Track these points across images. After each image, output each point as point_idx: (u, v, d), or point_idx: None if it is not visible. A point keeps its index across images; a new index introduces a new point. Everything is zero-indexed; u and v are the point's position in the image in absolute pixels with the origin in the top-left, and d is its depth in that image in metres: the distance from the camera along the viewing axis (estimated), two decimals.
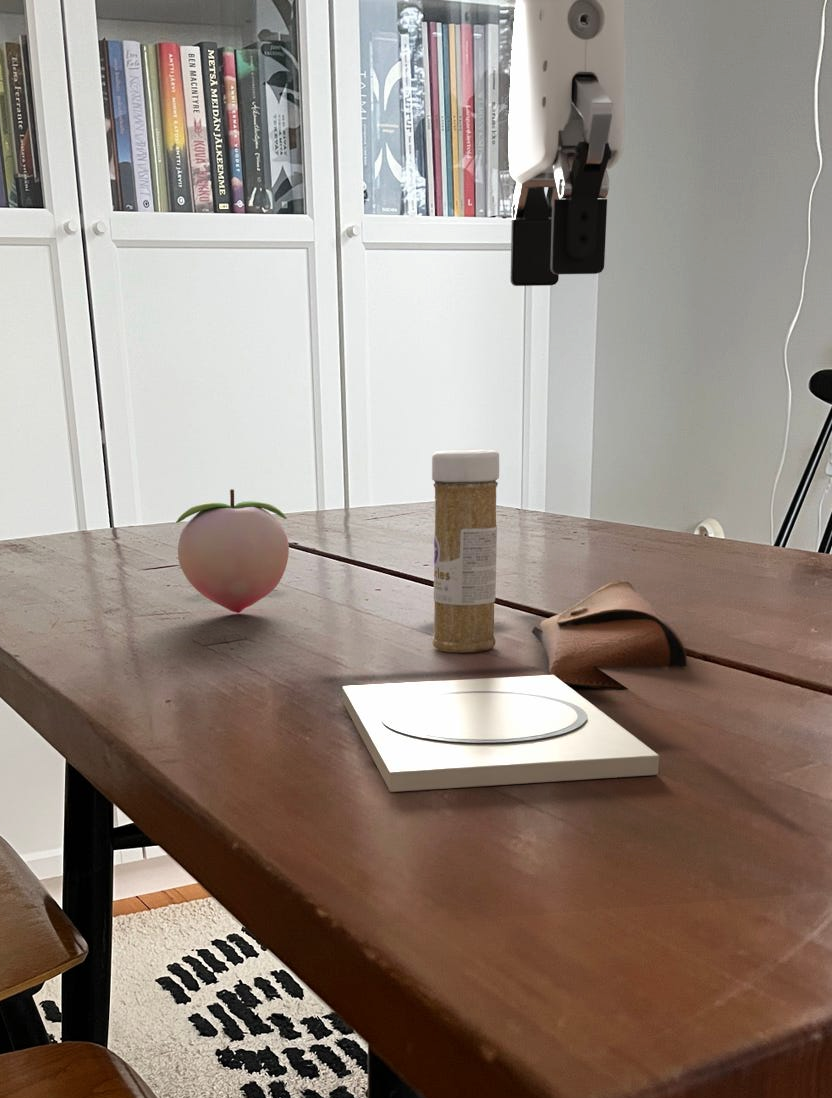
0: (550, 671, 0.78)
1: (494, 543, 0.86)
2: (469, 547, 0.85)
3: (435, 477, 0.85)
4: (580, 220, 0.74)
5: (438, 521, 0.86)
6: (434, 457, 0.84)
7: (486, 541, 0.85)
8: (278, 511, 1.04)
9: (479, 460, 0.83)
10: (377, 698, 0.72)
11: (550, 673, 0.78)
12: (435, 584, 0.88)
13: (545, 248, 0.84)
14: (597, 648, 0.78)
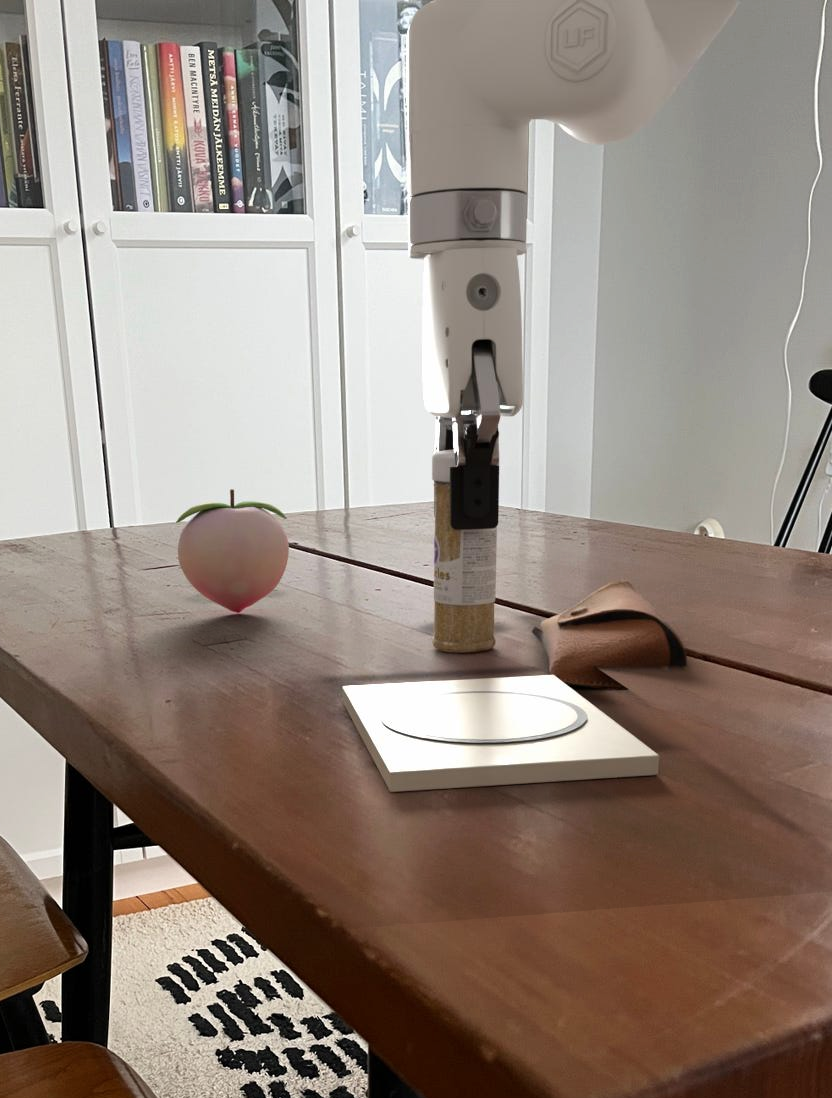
0: (550, 671, 0.78)
1: (494, 543, 0.86)
2: (469, 547, 0.85)
3: (435, 477, 0.85)
4: (475, 486, 0.82)
5: (438, 522, 0.86)
6: (434, 457, 0.84)
7: (486, 541, 0.85)
8: (278, 511, 1.04)
9: None
10: (377, 698, 0.72)
11: (550, 673, 0.78)
12: (435, 584, 0.88)
13: None
14: (597, 648, 0.78)
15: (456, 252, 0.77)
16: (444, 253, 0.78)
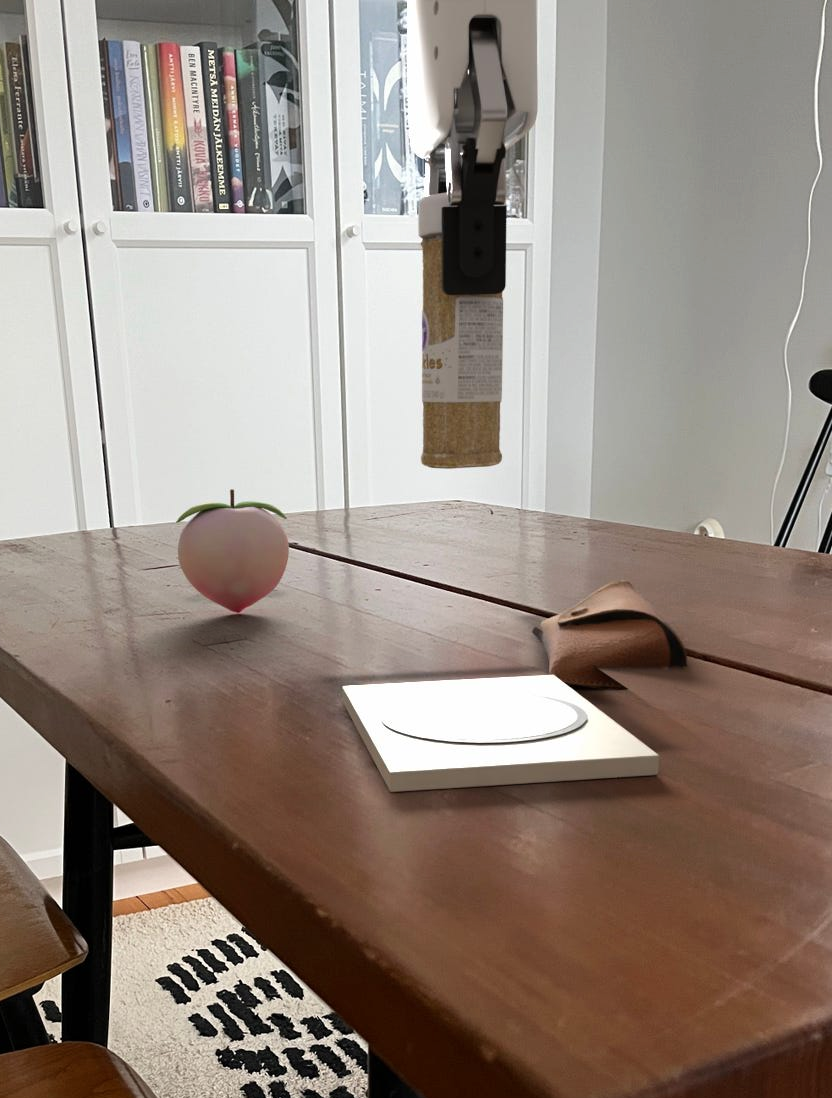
0: (550, 671, 0.78)
1: (500, 320, 0.66)
2: (466, 322, 0.65)
3: (422, 229, 0.65)
4: (474, 231, 0.62)
5: (427, 291, 0.66)
6: (421, 202, 0.65)
7: (489, 316, 0.66)
8: (278, 511, 1.04)
9: None
10: (377, 698, 0.72)
11: (550, 673, 0.78)
12: (423, 378, 0.68)
13: None
14: (597, 648, 0.78)
15: None
16: None
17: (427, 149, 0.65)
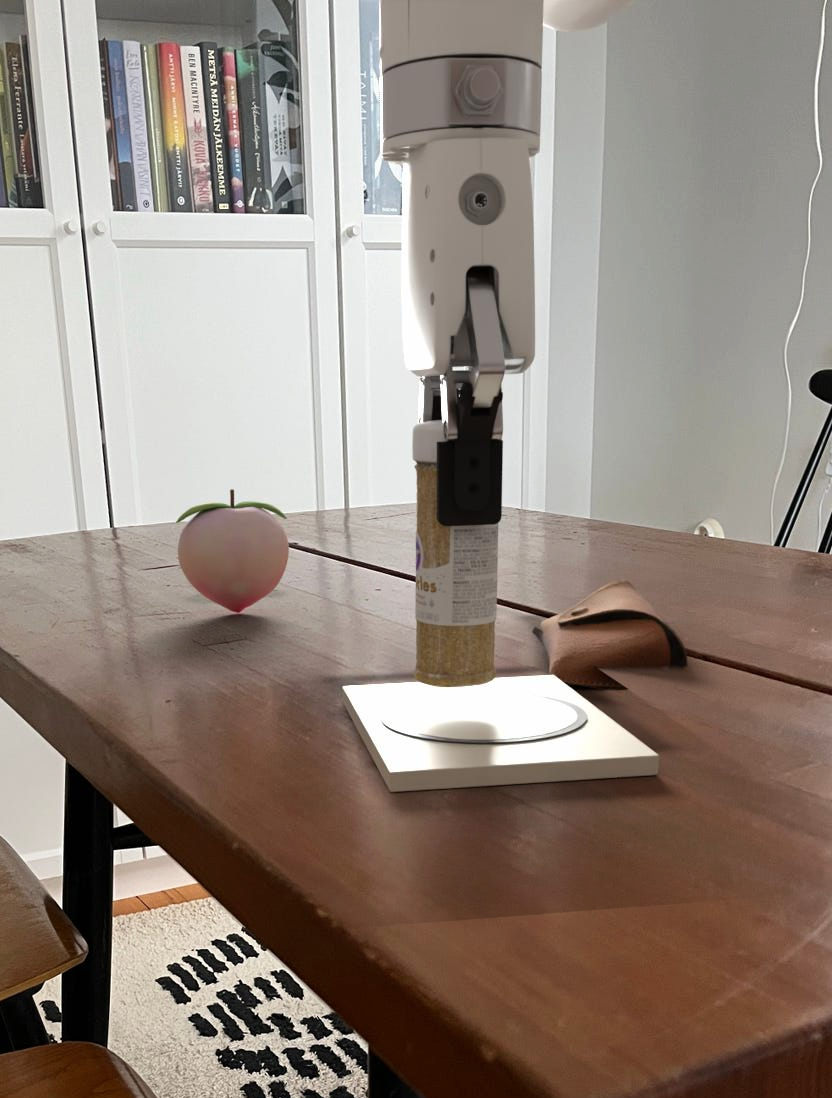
0: (550, 671, 0.78)
1: (495, 544, 0.65)
2: (461, 549, 0.64)
3: (417, 456, 0.64)
4: (470, 468, 0.61)
5: (421, 515, 0.65)
6: (415, 429, 0.64)
7: (484, 542, 0.64)
8: (278, 511, 1.04)
9: None
10: (377, 698, 0.72)
11: (550, 673, 0.78)
12: (417, 598, 0.67)
13: None
14: (598, 648, 0.78)
15: (445, 144, 0.56)
16: (428, 146, 0.57)
17: (422, 374, 0.64)
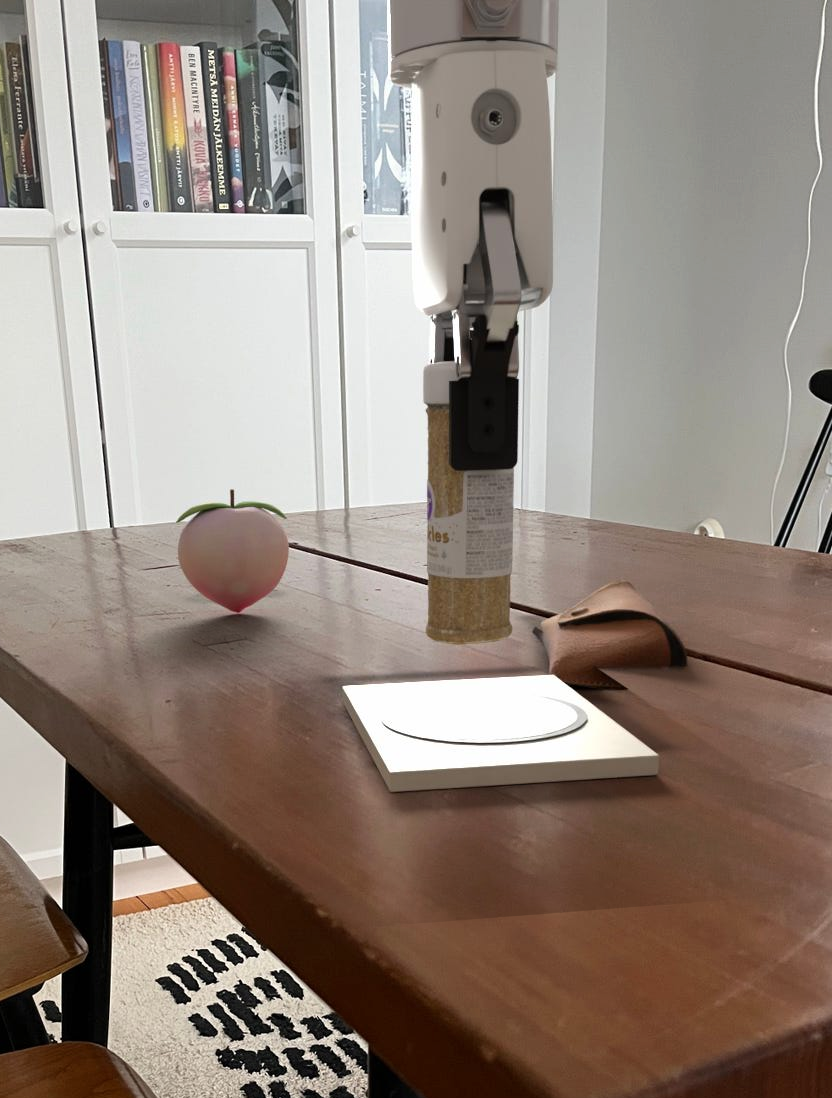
0: (551, 671, 0.78)
1: (510, 491, 0.62)
2: (475, 496, 0.61)
3: (428, 398, 0.61)
4: (484, 408, 0.58)
5: (433, 461, 0.61)
6: (426, 370, 0.60)
7: (499, 489, 0.61)
8: (278, 511, 1.04)
9: None
10: (377, 698, 0.72)
11: (551, 673, 0.78)
12: (429, 550, 0.63)
13: None
14: (598, 648, 0.78)
15: (456, 58, 0.53)
16: (439, 62, 0.53)
17: (433, 311, 0.61)
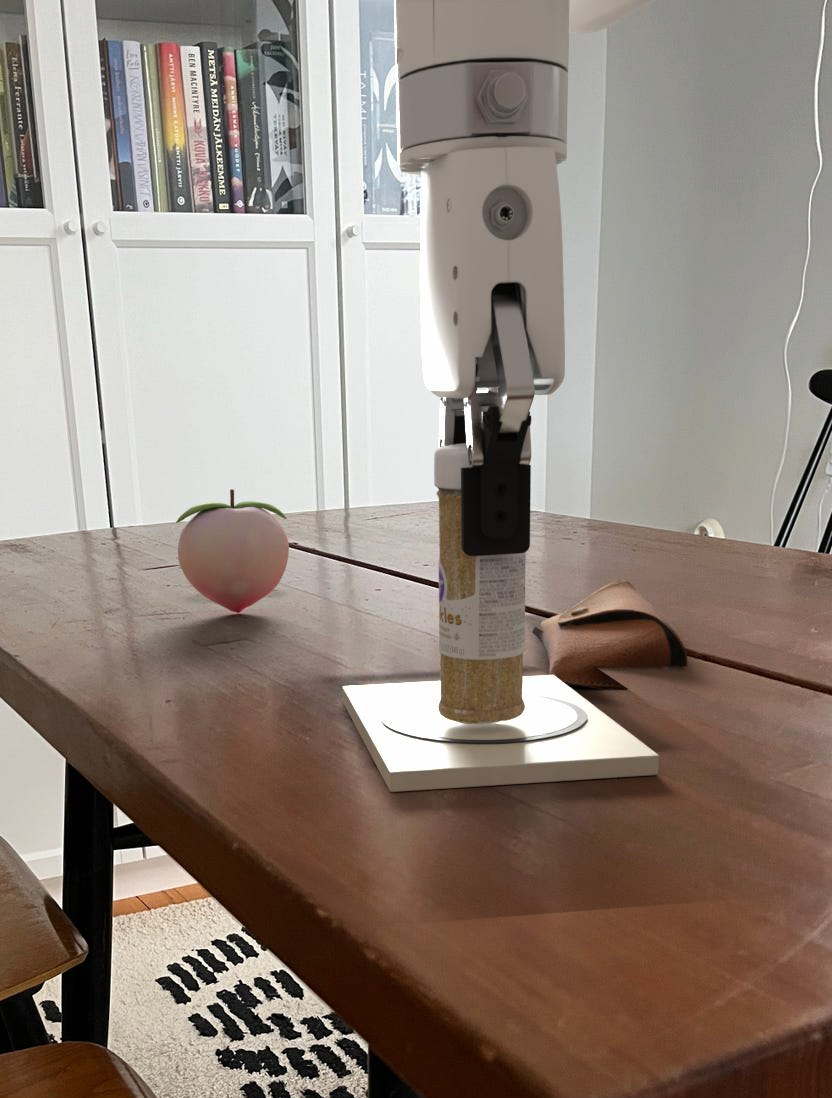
0: (551, 671, 0.78)
1: (522, 573, 0.62)
2: (488, 580, 0.61)
3: (439, 483, 0.60)
4: (497, 495, 0.58)
5: (445, 544, 0.61)
6: (437, 455, 0.60)
7: (511, 571, 0.61)
8: (278, 511, 1.04)
9: None
10: (377, 698, 0.72)
11: (551, 673, 0.78)
12: (441, 630, 0.63)
13: None
14: (598, 648, 0.78)
15: (467, 154, 0.53)
16: (450, 157, 0.53)
17: (443, 395, 0.61)
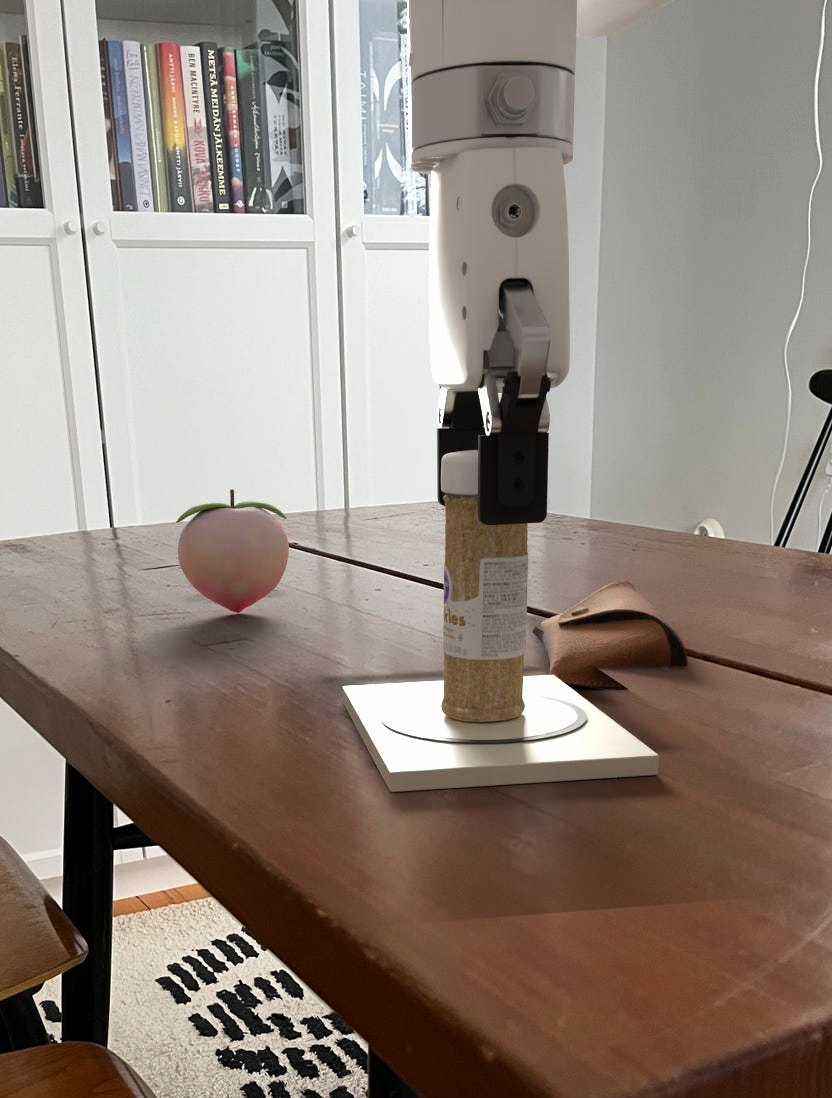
0: (551, 671, 0.78)
1: (525, 576, 0.64)
2: (491, 582, 0.63)
3: (446, 488, 0.63)
4: (514, 463, 0.57)
5: (450, 548, 0.64)
6: (444, 461, 0.62)
7: (514, 575, 0.63)
8: (278, 511, 1.04)
9: None
10: (377, 698, 0.72)
11: (551, 673, 0.78)
12: (445, 631, 0.65)
13: None
14: (598, 648, 0.78)
15: (477, 154, 0.54)
16: (460, 157, 0.55)
17: (451, 388, 0.63)
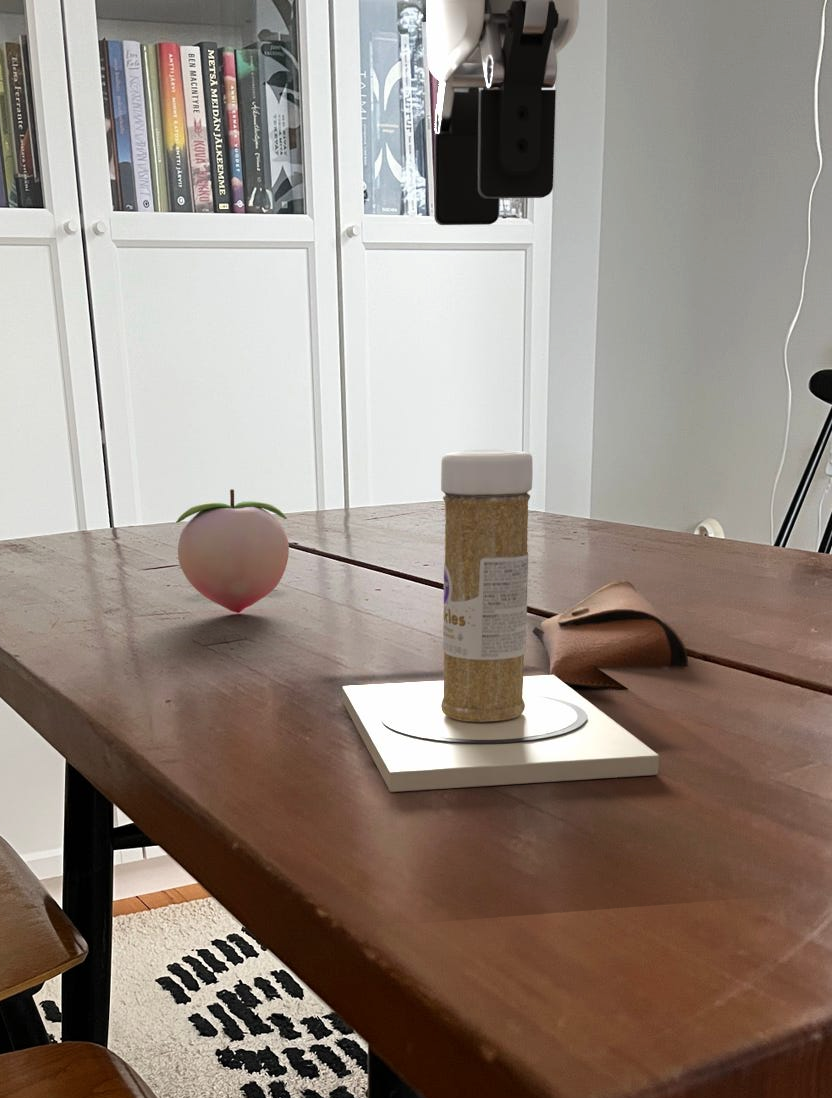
0: (551, 671, 0.78)
1: (525, 576, 0.64)
2: (491, 582, 0.63)
3: (446, 488, 0.63)
4: (518, 119, 0.53)
5: (450, 548, 0.64)
6: (444, 461, 0.62)
7: (514, 575, 0.63)
8: (278, 511, 1.04)
9: (506, 464, 0.61)
10: (377, 698, 0.72)
11: (551, 673, 0.78)
12: (445, 631, 0.65)
13: None
14: (598, 648, 0.78)
15: None
16: None
17: (449, 69, 0.58)
